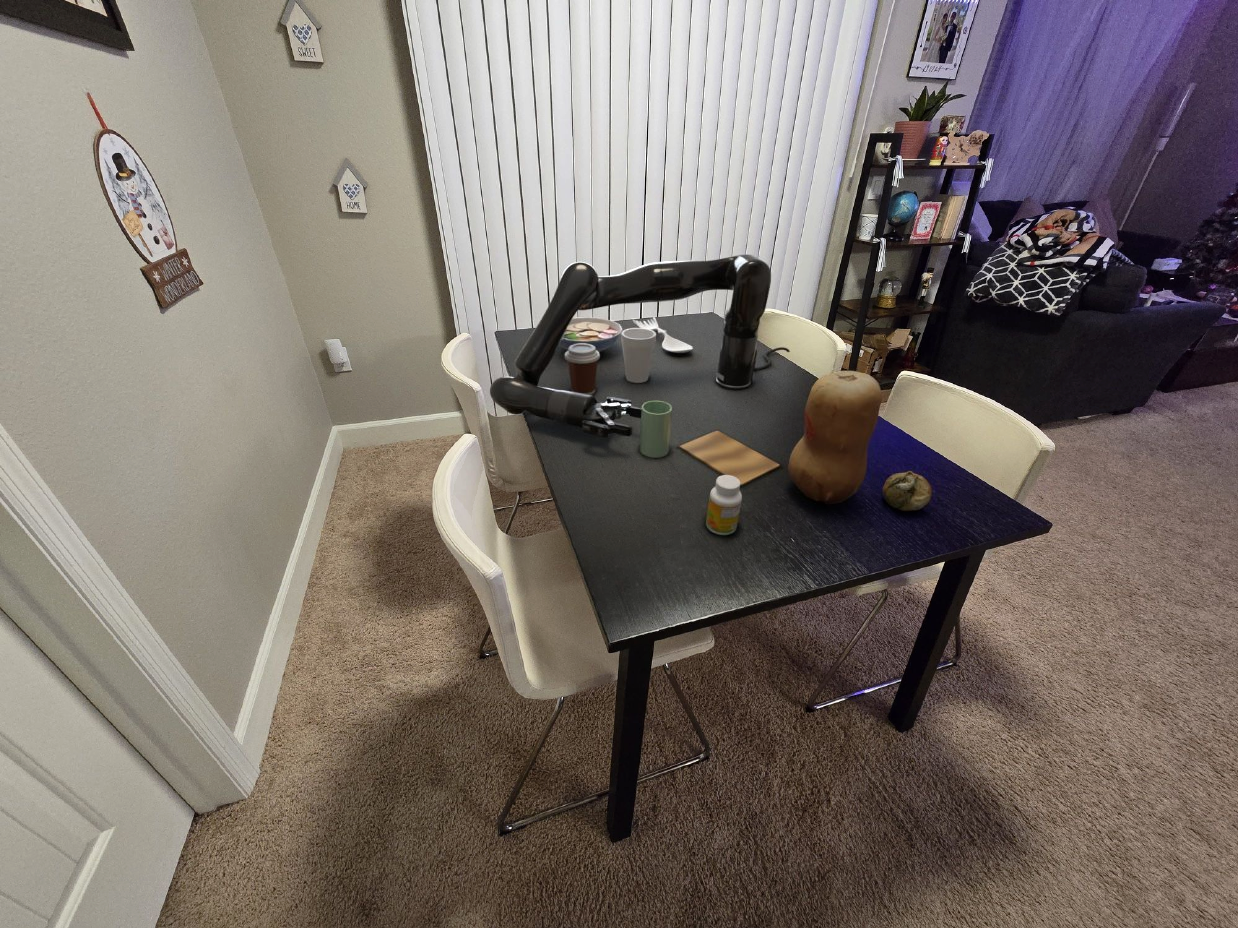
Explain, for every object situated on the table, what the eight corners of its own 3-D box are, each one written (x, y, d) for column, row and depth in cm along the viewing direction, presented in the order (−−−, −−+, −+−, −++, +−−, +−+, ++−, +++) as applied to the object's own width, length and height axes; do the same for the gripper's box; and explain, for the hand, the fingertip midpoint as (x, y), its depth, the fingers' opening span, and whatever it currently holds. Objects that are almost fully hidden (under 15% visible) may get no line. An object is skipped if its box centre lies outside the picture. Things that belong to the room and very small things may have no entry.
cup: (655, 439, 114) (658, 398, 108) (674, 451, 110) (678, 408, 104) (634, 448, 111) (635, 405, 105) (652, 460, 106) (655, 417, 101)
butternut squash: (776, 474, 103) (802, 358, 89) (842, 476, 102) (878, 360, 89) (793, 517, 91) (826, 392, 77) (868, 519, 91) (914, 394, 77)
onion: (930, 520, 91) (947, 485, 87) (884, 515, 92) (898, 479, 88) (917, 496, 97) (932, 461, 93) (874, 491, 98) (886, 457, 94)
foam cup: (650, 386, 138) (653, 340, 131) (617, 383, 139) (618, 338, 132) (655, 373, 145) (658, 329, 138) (624, 370, 147) (625, 326, 140)
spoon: (654, 325, 182) (654, 315, 180) (697, 356, 157) (698, 345, 155) (631, 328, 179) (631, 318, 177) (672, 359, 154) (672, 348, 152)
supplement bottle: (702, 516, 91) (708, 472, 86) (731, 515, 91) (739, 471, 86) (709, 536, 87) (716, 491, 81) (740, 535, 87) (748, 490, 82)
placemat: (679, 447, 111) (679, 445, 111) (717, 432, 117) (717, 430, 117) (741, 486, 99) (741, 484, 99) (779, 466, 105) (780, 464, 105)
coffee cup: (580, 401, 130) (578, 357, 123) (559, 389, 135) (557, 346, 129) (607, 391, 135) (607, 348, 128) (586, 380, 140) (585, 339, 134)
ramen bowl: (621, 366, 149) (622, 340, 145) (545, 365, 149) (543, 338, 145) (622, 338, 170) (622, 314, 165) (555, 337, 170) (553, 313, 166)
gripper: (555, 406, 106) (626, 421, 101) (585, 381, 117) (651, 393, 112) (557, 437, 110) (626, 453, 105) (586, 410, 121) (649, 423, 116)
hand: (638, 422), depth 108 cm, fingers open, 8 cm apart
